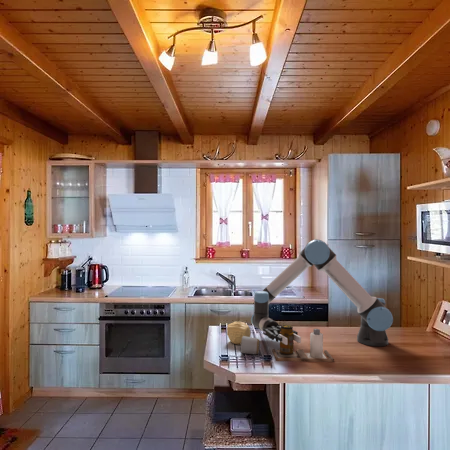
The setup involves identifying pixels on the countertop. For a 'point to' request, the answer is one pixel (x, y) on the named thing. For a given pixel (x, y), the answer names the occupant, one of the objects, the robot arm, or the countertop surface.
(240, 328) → the sculpture
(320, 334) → the white bottle
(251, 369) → the countertop surface
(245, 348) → the ceramic mug
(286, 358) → the walnut tray
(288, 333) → the condiment
